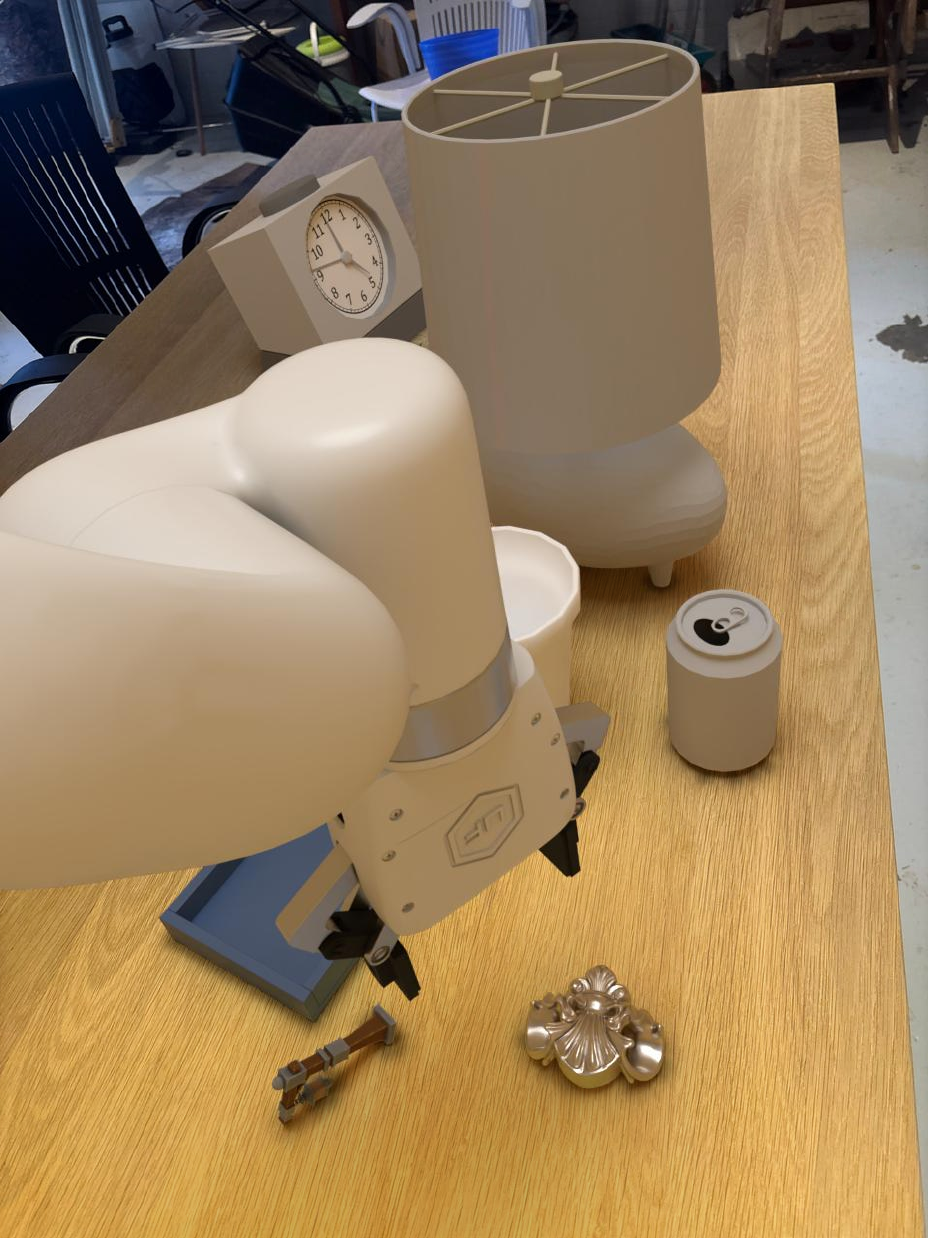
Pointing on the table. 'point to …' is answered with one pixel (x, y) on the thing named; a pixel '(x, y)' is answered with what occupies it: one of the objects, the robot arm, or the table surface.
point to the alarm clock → (324, 265)
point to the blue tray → (259, 923)
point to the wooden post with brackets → (328, 1063)
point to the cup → (540, 601)
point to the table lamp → (576, 289)
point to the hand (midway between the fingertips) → (479, 914)
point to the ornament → (595, 1032)
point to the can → (723, 679)
